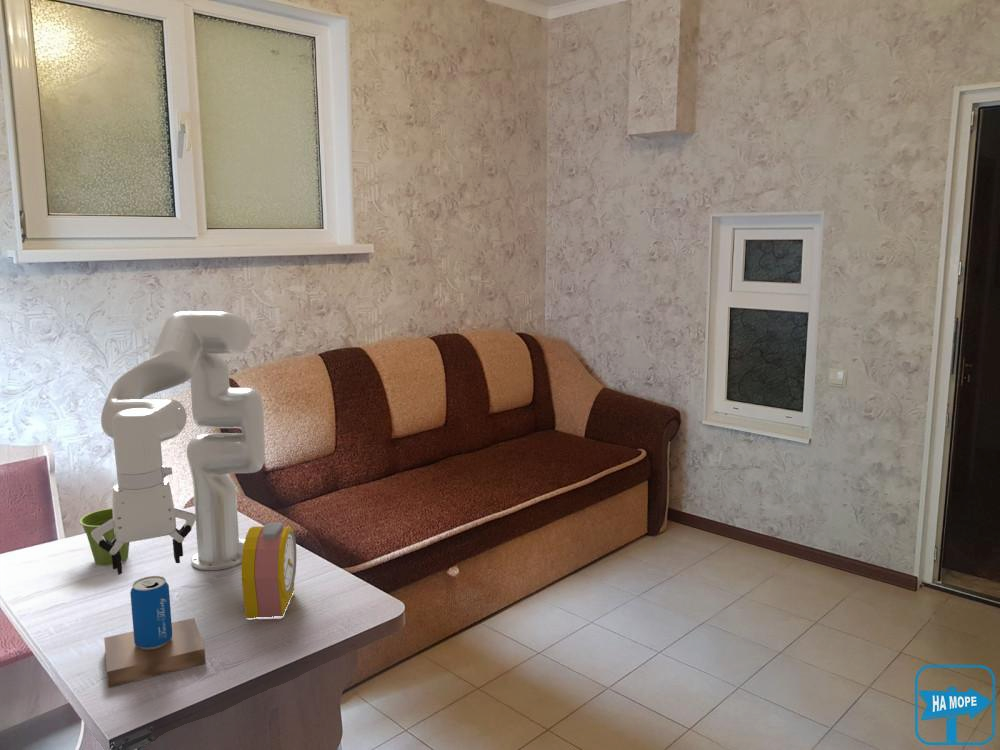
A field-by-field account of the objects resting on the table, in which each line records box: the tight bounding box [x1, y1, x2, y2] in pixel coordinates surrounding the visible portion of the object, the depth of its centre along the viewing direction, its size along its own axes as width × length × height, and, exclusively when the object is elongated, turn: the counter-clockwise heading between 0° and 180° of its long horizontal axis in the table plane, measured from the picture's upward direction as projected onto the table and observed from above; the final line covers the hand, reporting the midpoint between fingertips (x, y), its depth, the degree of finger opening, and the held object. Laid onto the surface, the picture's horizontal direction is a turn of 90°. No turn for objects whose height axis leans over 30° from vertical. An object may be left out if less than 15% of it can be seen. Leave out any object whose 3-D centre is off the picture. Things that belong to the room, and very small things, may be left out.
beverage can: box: [129, 575, 173, 650], centre depth 141 cm, size 6×6×12 cm
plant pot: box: [79, 508, 130, 567], centre depth 183 cm, size 12×12×11 cm
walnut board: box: [103, 617, 206, 688], centre depth 142 cm, size 16×13×3 cm
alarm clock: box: [240, 521, 297, 619], centre depth 161 cm, size 15×8×18 cm, turn 4°
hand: (148, 565), depth 140 cm, fingers open, 9 cm apart
